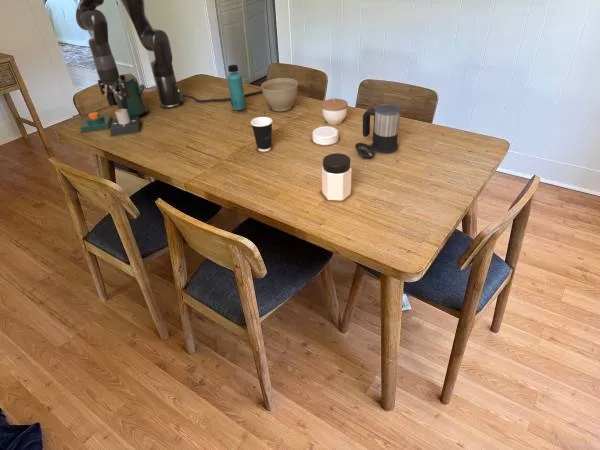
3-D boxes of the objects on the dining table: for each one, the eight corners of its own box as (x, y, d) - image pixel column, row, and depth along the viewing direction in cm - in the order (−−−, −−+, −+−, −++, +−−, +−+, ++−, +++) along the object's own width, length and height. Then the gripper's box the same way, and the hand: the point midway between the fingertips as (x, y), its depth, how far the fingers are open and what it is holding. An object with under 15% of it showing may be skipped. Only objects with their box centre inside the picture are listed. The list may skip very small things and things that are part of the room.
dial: (130, 119, 176) (127, 107, 173) (130, 123, 173) (126, 111, 169) (119, 120, 176) (115, 109, 172) (118, 125, 172) (114, 113, 169)
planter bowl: (278, 99, 195) (276, 75, 189) (306, 105, 187) (305, 81, 181) (256, 110, 185) (253, 86, 178) (284, 117, 177) (282, 92, 171)
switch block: (111, 119, 185) (108, 111, 183) (109, 128, 177) (106, 119, 175) (86, 123, 183) (82, 114, 181) (82, 132, 176) (79, 123, 173)
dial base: (140, 122, 181) (138, 115, 179) (139, 131, 173) (137, 124, 171) (114, 126, 179) (112, 119, 177) (112, 135, 171) (109, 128, 169)
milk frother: (399, 143, 153) (403, 104, 144) (392, 163, 142) (396, 122, 133) (361, 139, 157) (363, 101, 148) (352, 158, 146) (353, 119, 137)
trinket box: (343, 127, 166) (344, 105, 160) (318, 125, 169) (318, 103, 164) (349, 117, 174) (350, 95, 168) (325, 115, 177) (325, 93, 171)
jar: (334, 183, 133) (334, 149, 126) (355, 191, 129) (356, 157, 122) (317, 195, 128) (316, 161, 121) (338, 204, 124) (338, 169, 116)
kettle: (158, 109, 192) (148, 70, 181) (145, 120, 182) (133, 79, 171) (123, 108, 195) (111, 69, 184) (109, 119, 185) (94, 79, 174)
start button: (100, 115, 180) (98, 111, 179) (98, 118, 177) (97, 115, 176) (90, 116, 179) (88, 112, 178) (89, 120, 176) (87, 116, 175)
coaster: (342, 136, 160) (342, 127, 158) (332, 147, 153) (332, 138, 151) (318, 132, 164) (318, 124, 162) (308, 143, 157) (308, 134, 155)
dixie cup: (255, 144, 158) (251, 117, 152) (275, 143, 158) (273, 116, 151) (253, 154, 152) (249, 126, 145) (274, 153, 152) (271, 125, 145)
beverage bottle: (247, 107, 188) (242, 62, 176) (245, 113, 183) (238, 67, 171) (234, 108, 189) (227, 63, 177) (230, 113, 184) (223, 68, 171)
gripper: (126, 65, 160) (137, 106, 169) (102, 61, 166) (114, 101, 175) (110, 71, 155) (123, 112, 164) (86, 67, 161) (100, 107, 170)
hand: (118, 106), depth 170 cm, fingers open, 8 cm apart
